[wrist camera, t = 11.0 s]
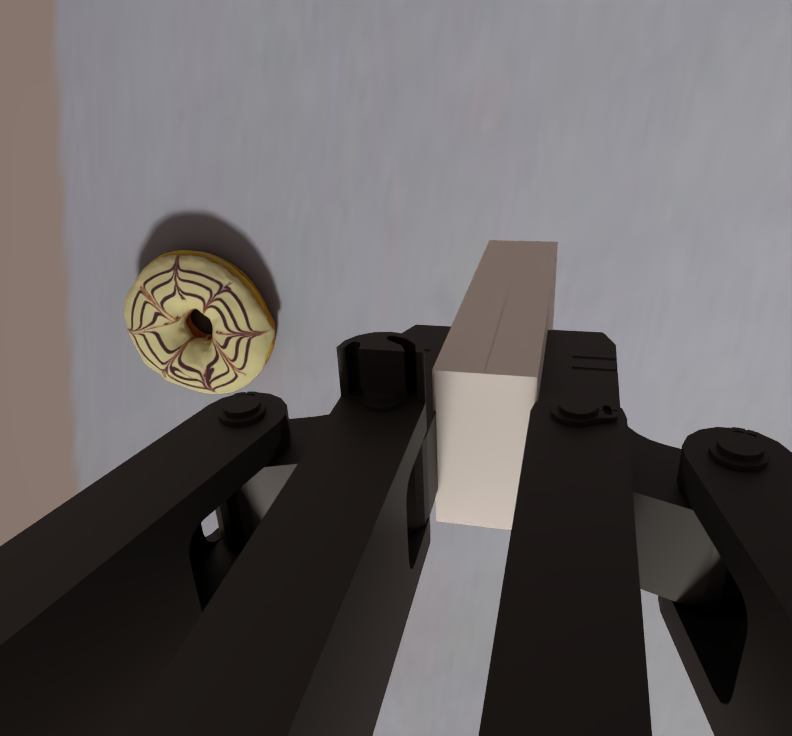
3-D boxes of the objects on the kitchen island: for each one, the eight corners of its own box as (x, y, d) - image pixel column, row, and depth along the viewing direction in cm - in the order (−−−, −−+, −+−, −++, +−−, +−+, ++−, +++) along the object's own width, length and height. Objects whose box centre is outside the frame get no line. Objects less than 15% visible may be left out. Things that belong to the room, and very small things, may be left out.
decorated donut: (233, 404, 55) (211, 429, 52) (123, 314, 54) (93, 333, 50) (308, 316, 50) (289, 336, 47) (190, 214, 49) (161, 227, 45)
